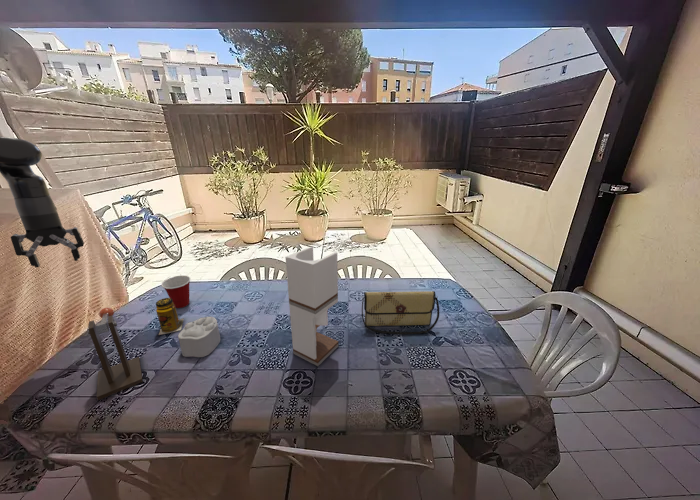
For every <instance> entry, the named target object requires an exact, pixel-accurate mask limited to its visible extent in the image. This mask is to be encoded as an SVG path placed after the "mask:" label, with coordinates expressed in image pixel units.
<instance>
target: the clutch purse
mask: <svg viewBox="0 0 700 500" xmlns="http://www.w3.org/2000/svg"><path fill="white" fill-rule="evenodd" d="M438 297H439V296H438V295H436V291H434V290H431V291H427V290H426V291H424V290H423V291H422V290H421V291H364V292H363V295H361V296H360V298H361V299H362V302H361V319H362V322H363V325H364V327H365V328H366V329H368V330H370V331H372V332H375V333H376V332H377V333H380V334H390V335H391V334H392V335H419V334H426V333H428V332H430V331H431V330H432V329H433V328H435V326H436V325H437V324H438V321H439V319H440V303H439V299H438ZM435 305H436V306H435ZM435 307H436V318H435V320H434V322H433V324H432V316H433V311H434V310H435ZM431 324H432V325H431ZM389 326H390V327H391V326H392V327H393V326H396V327H397V326H429V328H428V329H426V330H419V331H407V332H406V331H388V330H378V329H375V328H372V327H389Z"/></svg>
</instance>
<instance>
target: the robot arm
mask: <svg viewBox="0 0 700 500" xmlns="http://www.w3.org/2000/svg"><path fill="white" fill-rule="evenodd" d="M42 158H43V153H42V151H41V150H40V148H39V147H38V146H36V144H34V143H33V142H31V141H28V140H26V139H22V138H17V137H9V136H1V135H0V174H1V176H3V178H4V180H5V181H6V182H7V184H8V187H9V190H10V192H11V195H12V197H13V200H14V205H15V208H16V211H17V213H18V216H19V218H20V220H21V223H22V225H23V229H24V231H25V233H24V234H19V233H14V234H12V235H11V236H10V240H11V243H12V247H13V249H14V252H15V255H16V256H18V257H20V256H25V257H26V258H27V259H28V262H29V264H30V266H31V267H35V268H40V266H41V264H40V261H39V259H38V256H37V254H36V253H35V252H36V251H37V249H38V248H39V246H40V247H49V246H58V245H59V244H61V245H63V246H65V247H67V248H69V249H70V252H71V254H72V258H73V260H74V262H78V261H79V259H80V257H81V254H80V251H79V249H80V248H81V247H84V245H85V242H84V240H83V237H82V234H81V232H80V230H79V228H78V227H76V226H74V227H72V228H67V229H66V228H64V226H63V225H62V222H61V219H60V216H59V213H58V209H57V206H56V204H55V202H54V200H53V198H52V197H51V194H50V191H49V188H48V186H47V183H46V181H45V179H44V178H43V177H42V176H40V175H39V174H36V173H35V172H34V170H33V168H32V166H35V165H38V164H39V163H40V162H41V160H42ZM67 234H69V235H70V236H73V237H74V239H75V241H76V243H74V242H72V241H71V240H70V239H68V238H66V235H67ZM25 239H26V240H28V241H30V242H32V244H31V246H30V247H29V248H28V250H26V249H25V250H24V246H23V242H24V241H25Z"/></svg>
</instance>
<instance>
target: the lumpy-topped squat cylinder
mask: <svg viewBox="0 0 700 500" xmlns="http://www.w3.org/2000/svg"><path fill="white" fill-rule="evenodd" d="M177 338H178V342H179V346H180V350H181V354H182V357H185V358H189V357H195V358H203V357H207V356H208V355H210V354H211V353H213V351H214V350H215V349H216V348H217V347H218V345H219V344H220V343H221V335H220V329H219V323H218V320H217V319H216V318H215V317H214V316H205V317H199V318H198V319H196V320H193V321H190V322H187V323H185V325H184V327H183V328H182V329H181V330H180V332H179V333H178V335H177Z"/></svg>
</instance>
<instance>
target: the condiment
mask: <svg viewBox="0 0 700 500" xmlns="http://www.w3.org/2000/svg"><path fill="white" fill-rule="evenodd" d="M155 306H156V311H155V312H156V315H157V319H158V322H159V325H160V330H159V333H158V336H160V335H166V334H170V333H175V332H179V331H182V329H183V323H184V320H185V319H184V318H180V319H179V315H178V312H177V308H176V307H175V305H174V304H173V300H172V299H171V298H169V297H164V298H161V299H158V300H157V301H156V302H155Z"/></svg>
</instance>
